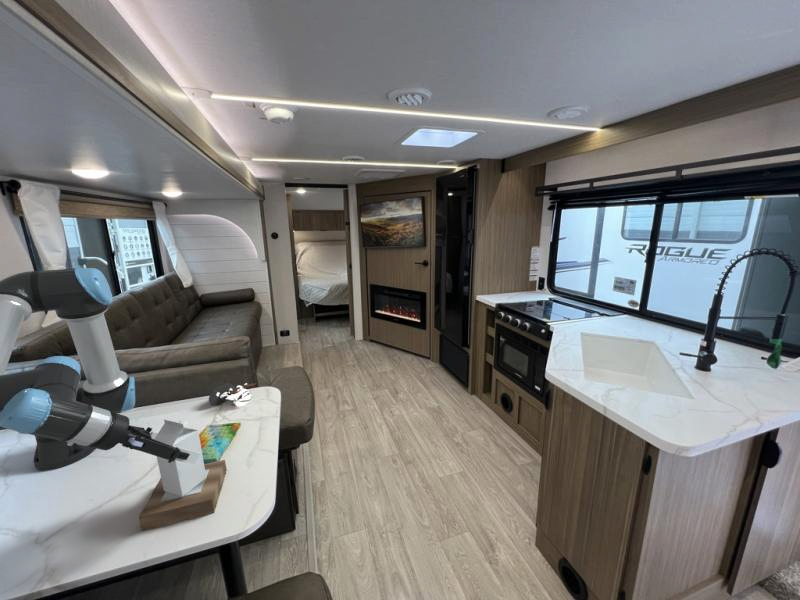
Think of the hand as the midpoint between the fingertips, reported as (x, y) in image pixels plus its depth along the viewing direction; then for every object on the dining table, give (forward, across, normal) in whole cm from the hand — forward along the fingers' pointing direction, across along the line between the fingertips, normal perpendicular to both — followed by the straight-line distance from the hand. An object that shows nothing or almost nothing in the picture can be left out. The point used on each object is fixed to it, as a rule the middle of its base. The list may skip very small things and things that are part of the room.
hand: (183, 450), depth 87 cm
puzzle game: (+20, -15, 0) cm, 26 cm away
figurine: (+36, -39, +16) cm, 55 cm away
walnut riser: (+9, 0, -11) cm, 14 cm away
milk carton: (+6, 0, -8) cm, 10 cm away
